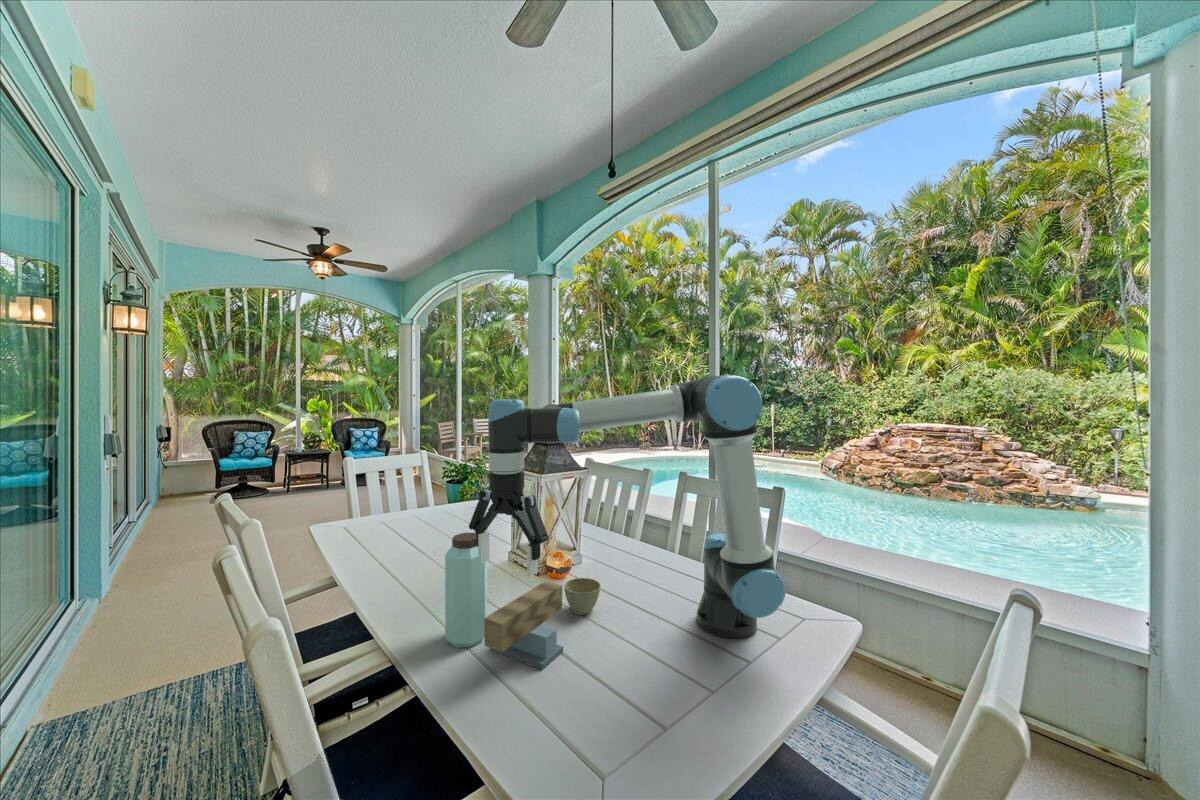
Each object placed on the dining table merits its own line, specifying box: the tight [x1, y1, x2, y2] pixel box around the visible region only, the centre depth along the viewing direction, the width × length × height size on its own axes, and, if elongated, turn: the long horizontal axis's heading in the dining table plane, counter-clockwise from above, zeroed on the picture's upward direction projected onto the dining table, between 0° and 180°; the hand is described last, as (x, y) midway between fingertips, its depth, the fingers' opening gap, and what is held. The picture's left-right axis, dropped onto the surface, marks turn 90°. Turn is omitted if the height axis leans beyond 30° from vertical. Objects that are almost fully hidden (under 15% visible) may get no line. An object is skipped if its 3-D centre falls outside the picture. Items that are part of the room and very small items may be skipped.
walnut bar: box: [484, 580, 563, 652], centre depth 109 cm, size 22×5×6 cm, turn 150°
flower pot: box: [563, 577, 601, 616], centre depth 129 cm, size 10×10×7 cm
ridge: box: [489, 624, 564, 671], centre depth 110 cm, size 15×8×6 cm, turn 61°
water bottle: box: [444, 532, 488, 648], centre depth 115 cm, size 10×10×25 cm
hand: (507, 567), depth 103 cm, fingers open, 13 cm apart
